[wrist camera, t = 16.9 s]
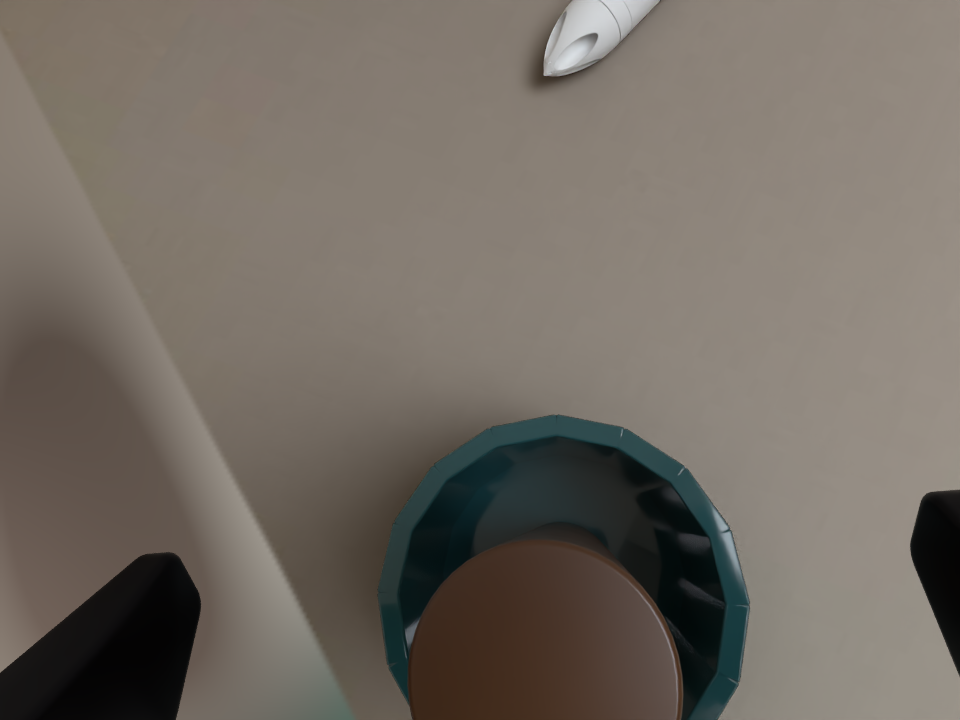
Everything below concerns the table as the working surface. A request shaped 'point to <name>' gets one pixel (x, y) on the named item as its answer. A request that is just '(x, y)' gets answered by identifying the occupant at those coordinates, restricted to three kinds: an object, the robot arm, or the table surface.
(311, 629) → the table surface
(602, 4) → the marker
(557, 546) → the dowel
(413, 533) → the cup
